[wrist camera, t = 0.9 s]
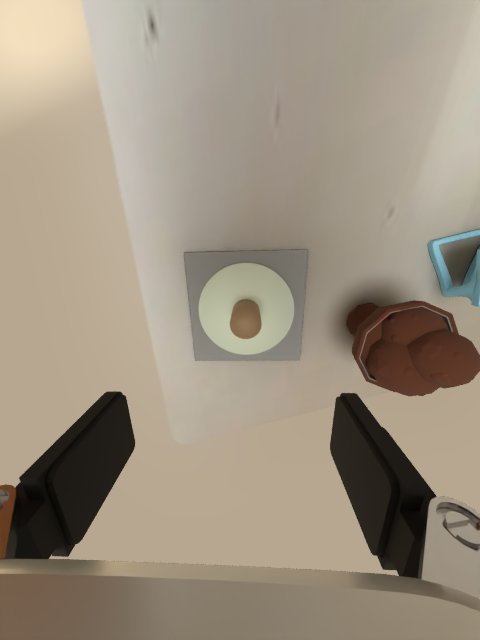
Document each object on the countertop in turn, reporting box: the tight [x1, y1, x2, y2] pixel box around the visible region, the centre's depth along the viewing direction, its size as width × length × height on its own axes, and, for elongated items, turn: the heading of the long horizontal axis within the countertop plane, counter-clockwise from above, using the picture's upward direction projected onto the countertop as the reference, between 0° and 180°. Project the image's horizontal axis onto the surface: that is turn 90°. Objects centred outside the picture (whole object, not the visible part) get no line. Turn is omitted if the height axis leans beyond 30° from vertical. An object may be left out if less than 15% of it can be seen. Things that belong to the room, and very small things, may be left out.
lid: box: [198, 263, 294, 355], centre depth 31 cm, size 14×14×6 cm
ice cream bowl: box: [346, 301, 480, 396], centre depth 27 cm, size 11×11×15 cm
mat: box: [184, 250, 308, 361], centre depth 34 cm, size 17×17×1 cm
